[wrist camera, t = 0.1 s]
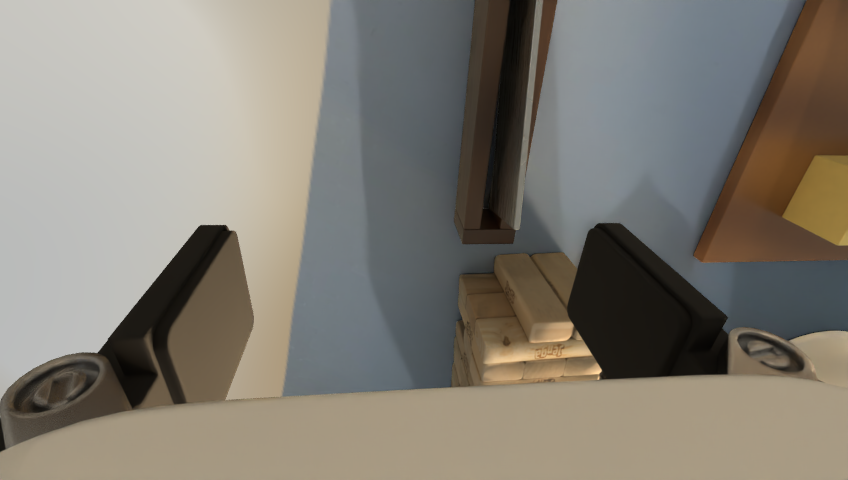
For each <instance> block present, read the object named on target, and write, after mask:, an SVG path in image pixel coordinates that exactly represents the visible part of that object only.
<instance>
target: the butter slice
mask: <svg viewBox="0 0 848 480" xmlns="http://www.w3.org/2000/svg"><path fill="white" fill-rule="evenodd" d="M782 217H783V218H785V219H787V220H788V221H790V222H792V223H794V224H796V225H798V226H800V227H802V228H804V229H806V230H808V231H810V232H812V233H814V234H816V235H818V236H820V237H822V238H824V239H826V240H828V241H829V242H831V243H833V244H835V245H838V246H843V245H848V156H835V155H815V156H814V158H813V160H812V162H811V164H810V166H809V167H808V169H807V171H806V173H805V175H804V177H803V179H802V180H801V182H800V184H799V186H798V188H797V190H796V191H795V193H794V195H793V197H792V199H791V201H790V203H789V204H788V206H787V208H786V210H785V212H784V214H783V215H782Z"/></svg>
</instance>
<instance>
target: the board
mask: <svg viewBox="0 0 848 480" xmlns="http://www.w3.org/2000/svg"><path fill="white" fill-rule="evenodd" d="M815 155H835V156H848V0H807V1H806V3H805V5H804V7H803V10H802V12H801V14H800V16H799V19H798V21H797V23H796V25H795V28H794V30H793V32H792V34H791V37H790V39H789V41H788V43H787V46H786V48H785V50H784V52H783V55H782V57H781V59H780V61H779V64H778V66H777V68H776V70H775V73H774V75H773V77H772V79H771V82H770V84H769V86H768V88H767V91H766V93H765V95H764V97H763V100H762V102H761V104H760V106H759V109H758V111H757V113H756V115H755V118H754V120H753V122H752V124H751V127H750V129H749V131H748V133H747V136H746V138H745V140H744V142H743V145H742V147H741V149H740V151H739V154H738V156H737V158H736V160H735V163H734V165H733V167H732V169H731V172H730V174H729V176H728V178H727V181H726V183H725V185H724V187H723V190H722V192H721V194H720V196H719V199H718V201H717V203H716V205H715V208H714V210H713V212H712V214H711V217H710V219H709V221H708V223H707V226H706V228H705V230H704V232H703V235H702V237H701V239H700V241H699V244H698V246H697V248H696V250H695V253H694V255H693V256H694V257H695V258H697V259H698V260H699V261H700V262H702V263H708V262H763V261H818V260H848V245H843V246H838V245H835V244H833V243H831V242H829V241H828V240H826V239H824V238H822V237H820V236H818V235H816V234H814V233H812V232H810V231H808V230H806V229H804V228H802V227H800V226H798V225H796V224H794V223H792V222H790V221H788V220H787V219H785V218H783V217H782V215H783V214H784V212H785V210H786V208H787V206H788V204H789V203H790V201H791V199H792V197H793V195H794V193H795V191H796V190H797V188H798V186H799V184H800V182H801V180H802V179H803V177H804V175H805V173H806V171H807V169H808V167H809V166H810V164H811V162H812V160H813V158H814V156H815Z"/></svg>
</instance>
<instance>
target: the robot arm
mask: <svg viewBox="0 0 848 480" xmlns="http://www.w3.org/2000/svg"><path fill="white" fill-rule="evenodd" d="M567 313H568V317H569V319H570V320H571V322H572V323H573V325H574V327H575V328H576V330H577V331H578V333H579V335H580V336H581V338H582V339H583V341H584V342H585V344H586V346H587V347H588V349H589V350H590V352H591V354H592V355H593V357H594V358H595V360H596V362H597V363H598V365H599V366H600V368H601V370H602V371H603V373H604V374H605V376H606V378H607V379H605V380H584V381H564V382H544V383H525V384H505V385H486V386H467V387H448V388H429V389H411V390H393V391H375V392H357V393H340V394H323V395H305V396H288V397H271V398H253V399H236V400H225V399H226V396H227V393H228V391H229V388H230V385H231V383H232V380H233V378H234V375H235V373H236V370H237V367H238V365H239V362H240V360H241V357H242V354H243V352H244V349H245V346H246V343H247V341H248V338H249V336H250V333H251V331H252V327H253V322H254V316H253V310H252V305H251V300H250V295H249V291H248V286H247V281H246V276H245V271H244V266H243V261H242V256H241V252H240V247H239V242H238V237H237V234H236V232H235V231H229V229H228V227H227V226H226V225H200V226H199V227H198V228H197V229H196V231H195V232H194V233H193V234H192V236H191V237H190V238H189V239H188V241H187V242H186V243H185V244H184V245H183V247H182V248H181V249H180V250H179V252H178V253H177V254H176V255H175V257H174V258H173V259H172V260H171V262H170V263H169V264H168V265H167V267H166V268H165V269H164V270H163V272H162V273H161V274H160V275H159V277H158V278H157V279H156V280H155V281H154V283H153V284H152V285H151V287H150V288H149V289H148V290H147V291H146V293H145V294H144V295H143V296H142V297H141V299H140V300H139V301H138V303H137V304H136V305H135V306H134V307H133V309H132V310H131V311H130V312H129V314H128V315H127V316H126V317H125V318H124V320H123V321H122V322H121V323H120V325H119V326H118V327H117V328H116V330H115V331H114V332H113V333H112V335H111V336H110V337H109V338H108V341H107V342H106V343H105V344H104V346H103V347H102V348H101V350H100V351H99V352H98V353H76V354H71V355H65V356H62V357H59V358H56V359H53V360H51V361H48V362H46V363H44V364H42V365H40V366H38V367H36V368H34V369H32V370H31V371H29V372H28V373H26V374H25V375H23V376H22V377H20V378H19V379H18V380H17V381H16V382H15V383H14V384H13V385H11V386H10V387H9V388H8V390H7V391H6V393H5V394H4V396H3V397H2V399H1V401H0V480H848V388H845V387H841V386H836V385H832V384H828V383H825V382H822V381H820V380H818V379H817V375H816V370H815V367H814V365H813V363H812V361H811V359H810V358H809V357H808V356H807V355H806V354H805V353H804V352H803V351H802V350H800V349H799V348H798V347H796V346H795V345H794V344H792V343H790V342H789V341H787V340H785V339H783V338H781V337H779V336H777V335H774V334H772V333H770V332H767V331H763V330H759V329H756V328H748V327H741V328H735V329H733V330H732V331H730V333H729V334H728V333H726V332H725V331H724V330H723V329H722V328H723V326H724V324H725V322H726V320H727V319H728V317H727V316H726V315H725V314H724V313H723V312H722V311H720V310H719V309H718V308H717V307H716V306H715V305H714V304H712V303H711V302H710V301H709V300H708V299H707V298H706V297H704V296H703V295H702V294H701V293H700V292H699V291H698V290H696V289H695V288H694V287H693V286H692V285H691V284H690V283H688V282H687V281H686V280H685V279H684V278H683V277H682V276H680V275H679V274H678V273H677V272H676V271H675V270H674V269H672V268H671V267H670V266H669V265H668V264H667V263H666V262H664V261H663V260H662V259H661V258H660V257H659V256H658V255H656V254H655V253H654V252H653V251H652V250H651V249H649V248H648V247H647V246H646V245H645V244H644V243H643V242H641V241H640V240H639V239H638V238H637V237H636V236H635V235H633V234H632V233H631V232H630V231H629V230H628V229H627V228H625V227H624V226H623V225H622V224H620V223H598V224H597V225H596V226H595V227H594V228H592V229H590V230H589V232H588V234H587V238H586V241H585V245H584V248H583V252H582V255H581V259H580V262H579V266H578V269H577V273H576V276H575V280H574V283H573V287H572V290H571V294H570V297H569V301H568V305H567Z"/></svg>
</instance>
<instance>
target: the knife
mask: <svg viewBox="0 0 848 480" xmlns="http://www.w3.org/2000/svg"><path fill="white" fill-rule="evenodd" d="M542 6H543V0H510V6H509V14H508V21H507V29H506V36H505V44H504V51H503V59H502V67H501V76H500V89H499V102H498V114H497V127H496V140H495V153H494V166H493V179H492V192H491V205H490V209H491V210H492V211H493V212H494V213H496V214H497V215H498V216H499V217H500V218H501V219H502V220H504V221H505V222H506V223H507V224H508V225H509V226H510V227H512V228H513V229H514V230H519V229H520V221H521V212H522V202H523V192H524V182H525V172H526V163H527V153H528V143H529V133H530V124H531V114H532V104H533V94H534V84H535V75H536V65H537V55H538V45H539V35H540V26H541V16H542Z"/></svg>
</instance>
